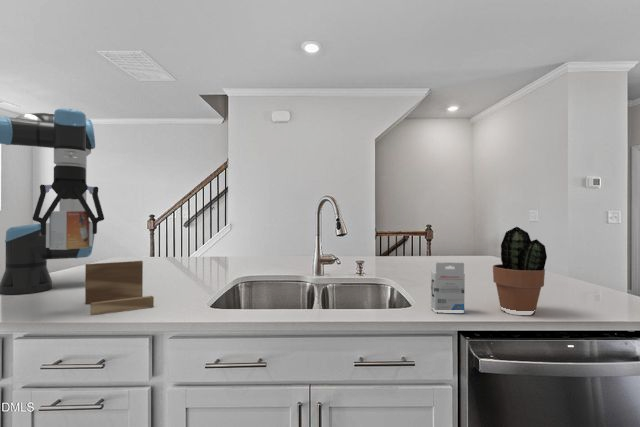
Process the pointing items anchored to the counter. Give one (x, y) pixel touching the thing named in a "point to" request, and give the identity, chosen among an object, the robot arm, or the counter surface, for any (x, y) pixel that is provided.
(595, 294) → the counter surface
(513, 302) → the potted plant
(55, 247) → the small box
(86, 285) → the board
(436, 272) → the ink box
